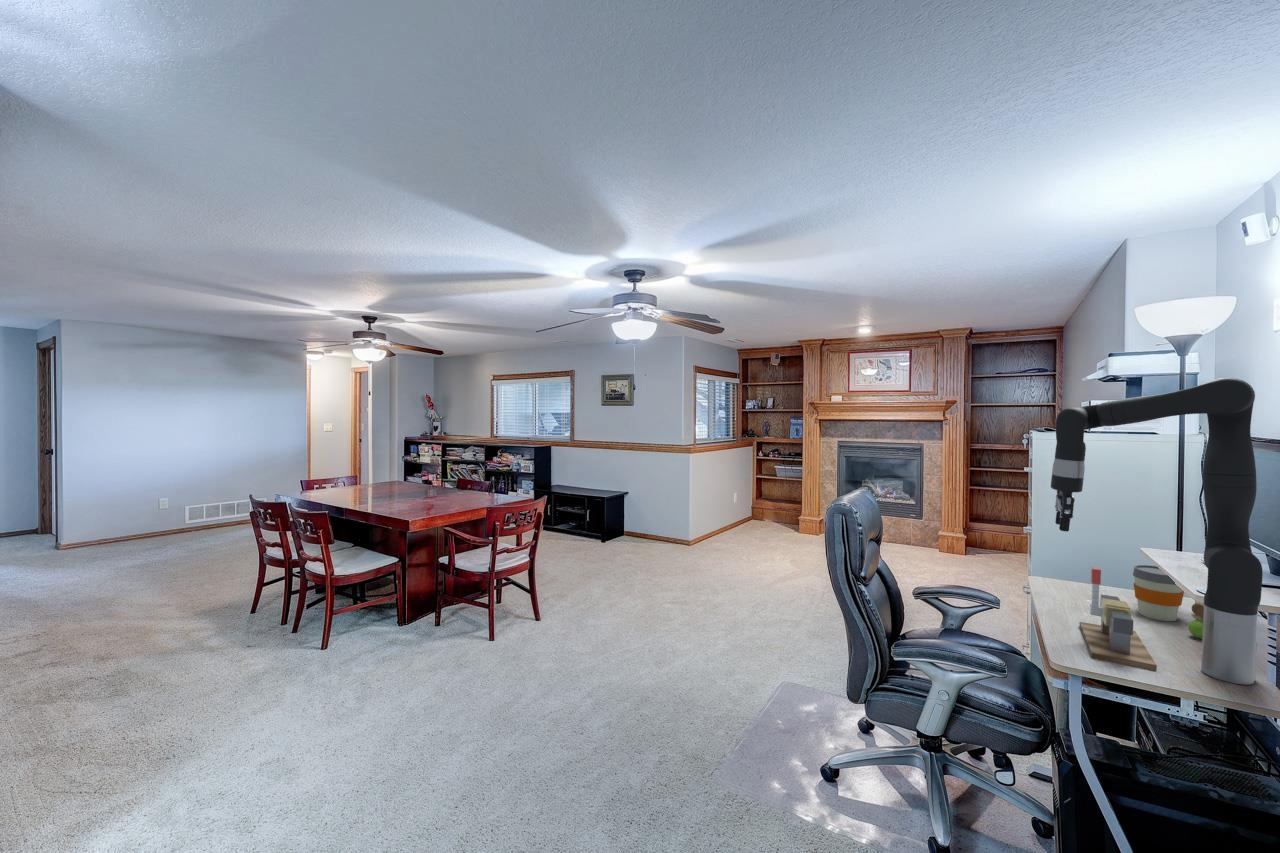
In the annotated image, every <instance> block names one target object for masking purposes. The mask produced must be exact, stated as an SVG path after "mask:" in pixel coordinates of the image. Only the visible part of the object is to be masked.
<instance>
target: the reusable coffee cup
mask: <svg viewBox="0 0 1280 853" xmlns="http://www.w3.org/2000/svg"><path fill="white" fill-rule="evenodd" d="M1158 567H1159V566H1158ZM1158 567H1157V565H1148V564H1146V565H1145V564H1139V565H1135V566H1133V573H1132V576H1133V578H1134V582H1133V590H1134V597H1135V598H1136V600H1137V606H1138V607H1137V609H1138V613H1139V614H1140V615H1141V616H1143V617H1146V618H1148V619H1153V620H1158V621H1164V622H1165V621H1166V622H1175V621H1176V620H1177V617H1178V613H1179V608H1180V606H1182V603H1183V598H1184V594H1185V591H1184V589H1183V590H1182V589H1181V588H1179V587H1178V586H1177V585H1176V584H1175V582H1174V581H1173V580H1172V579H1171V578H1170V577H1169V576H1168V575H1167V574H1165V573H1164V572H1163V571H1162V570H1161V569H1159V568H1158Z"/></svg>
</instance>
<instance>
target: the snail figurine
mask: <svg viewBox="0 0 1280 853" xmlns="http://www.w3.org/2000/svg"><path fill="white" fill-rule="evenodd" d="M1191 612H1192V613H1191V616H1192V617H1193V620H1191V621H1190V623H1188V628H1187V629H1188V631H1189V633H1190V634H1191V635H1192V636H1194V637H1195V638H1197V639H1200V640H1202V639H1203V617H1204V616H1203V615H1204V603H1202V602H1195V603H1193V604H1192V605H1191Z"/></svg>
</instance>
